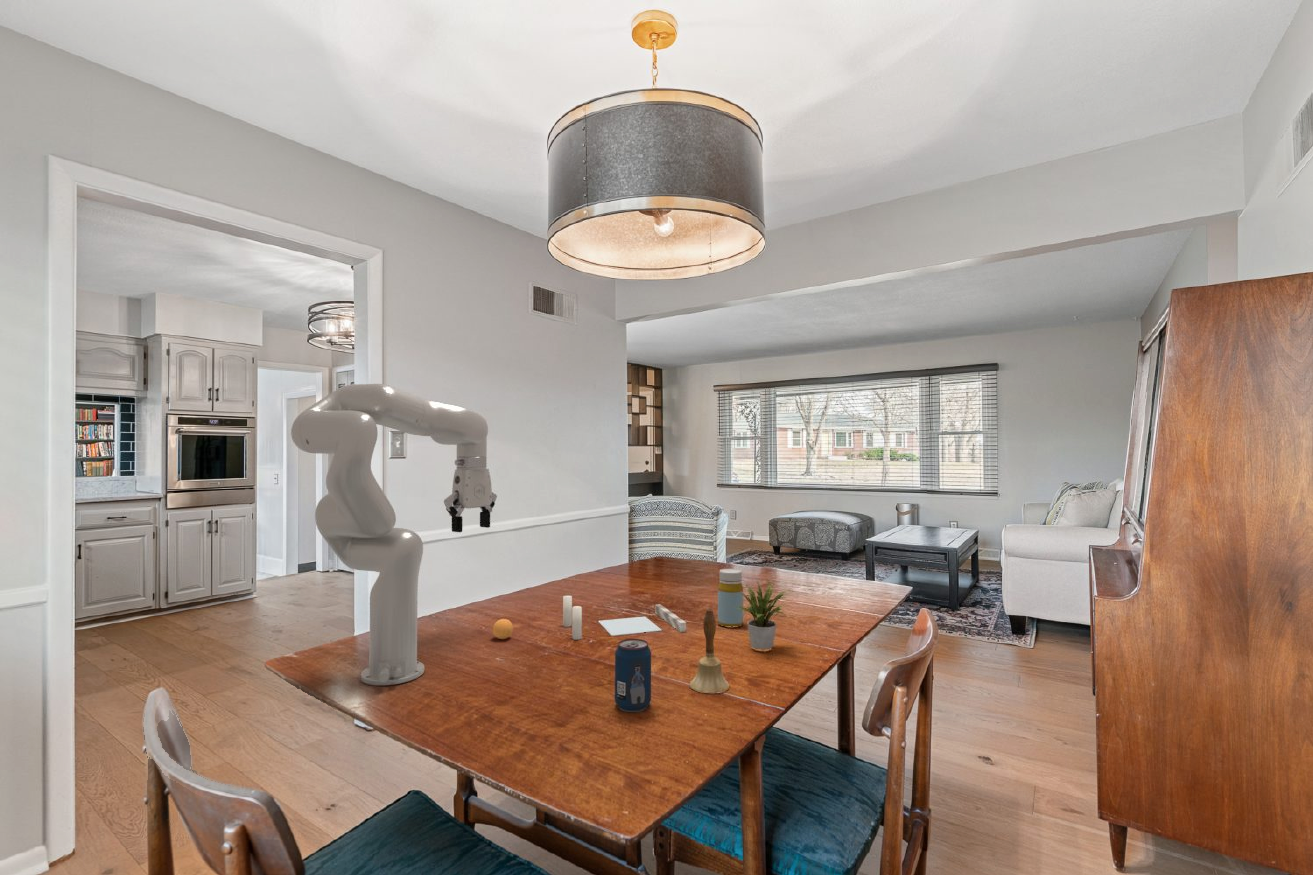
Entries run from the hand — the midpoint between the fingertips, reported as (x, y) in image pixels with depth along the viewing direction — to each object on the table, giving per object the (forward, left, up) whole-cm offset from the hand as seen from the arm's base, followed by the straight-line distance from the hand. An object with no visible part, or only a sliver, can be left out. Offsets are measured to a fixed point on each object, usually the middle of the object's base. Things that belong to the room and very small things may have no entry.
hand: (471, 529), depth 162 cm
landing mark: (-5, -42, -28) cm, 50 cm away
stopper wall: (-5, -54, -28) cm, 61 cm away
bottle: (-13, -69, -28) cm, 75 cm away
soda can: (-55, -27, -28) cm, 67 cm away
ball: (-5, -8, -25) cm, 27 cm away
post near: (-11, -26, -28) cm, 39 cm away
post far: (+1, -26, -28) cm, 38 cm away
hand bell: (-51, -45, -28) cm, 73 cm away
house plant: (-35, -67, -28) cm, 80 cm away
